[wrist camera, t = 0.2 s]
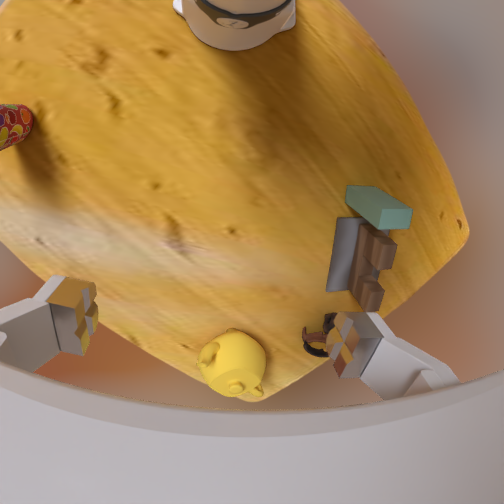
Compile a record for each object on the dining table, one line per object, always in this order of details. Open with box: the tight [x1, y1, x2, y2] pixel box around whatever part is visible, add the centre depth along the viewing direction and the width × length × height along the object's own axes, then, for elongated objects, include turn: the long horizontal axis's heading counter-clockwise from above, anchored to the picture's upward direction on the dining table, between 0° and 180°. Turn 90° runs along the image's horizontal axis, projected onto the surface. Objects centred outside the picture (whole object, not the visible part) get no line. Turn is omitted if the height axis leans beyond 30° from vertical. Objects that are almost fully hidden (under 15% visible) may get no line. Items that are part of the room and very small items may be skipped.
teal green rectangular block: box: [345, 185, 413, 229], centre depth 44 cm, size 6×3×12 cm, turn 89°
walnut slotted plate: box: [325, 217, 397, 312], centre depth 52 cm, size 12×16×10 cm
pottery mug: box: [302, 312, 338, 357], centre depth 61 cm, size 12×10×8 cm
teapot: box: [196, 328, 266, 397], centre depth 57 cm, size 13×20×12 cm
